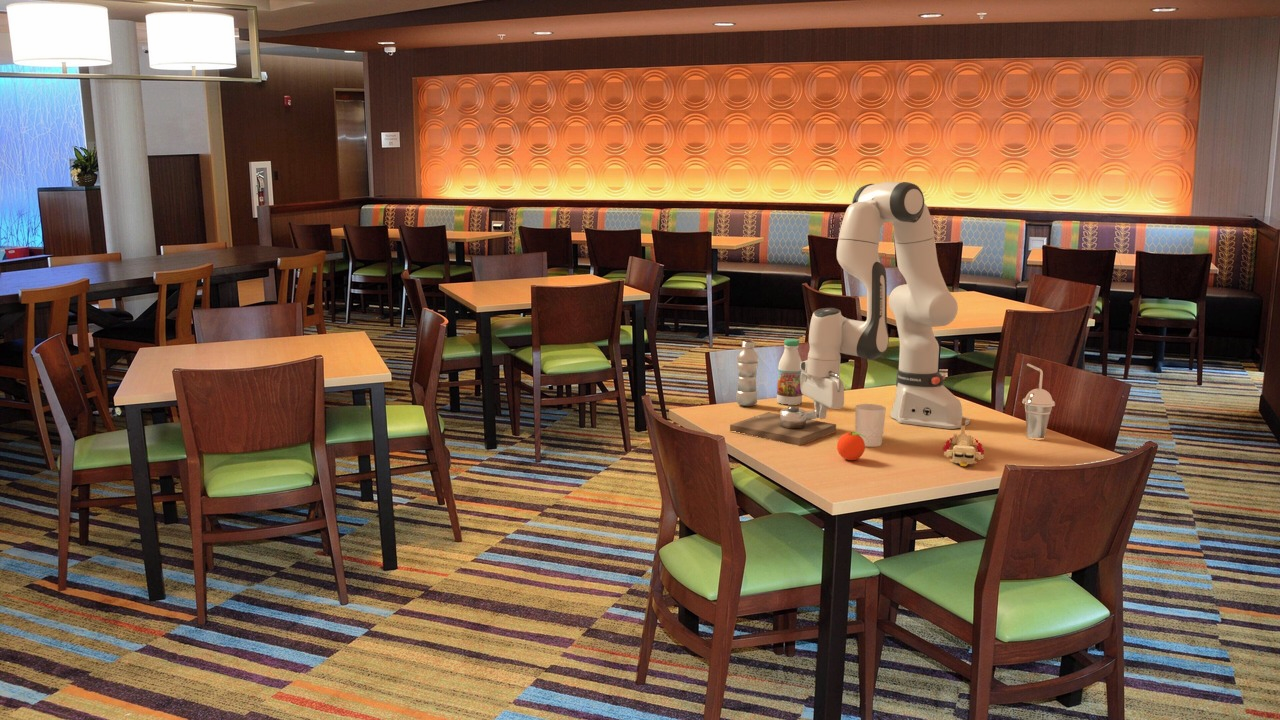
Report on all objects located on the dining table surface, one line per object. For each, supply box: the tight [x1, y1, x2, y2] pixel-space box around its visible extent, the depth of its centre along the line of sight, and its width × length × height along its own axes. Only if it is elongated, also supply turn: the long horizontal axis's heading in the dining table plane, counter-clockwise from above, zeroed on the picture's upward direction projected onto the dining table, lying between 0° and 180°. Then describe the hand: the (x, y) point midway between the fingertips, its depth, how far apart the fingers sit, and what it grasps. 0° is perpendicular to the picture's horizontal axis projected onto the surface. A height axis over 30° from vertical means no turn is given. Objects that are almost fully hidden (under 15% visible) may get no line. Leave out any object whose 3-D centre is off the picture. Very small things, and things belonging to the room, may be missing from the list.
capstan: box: [779, 405, 819, 428], centre depth 292 cm, size 16×7×5 cm, turn 131°
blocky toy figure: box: [942, 418, 985, 467], centre depth 269 cm, size 10×9×25 cm
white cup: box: [854, 403, 887, 448], centre depth 279 cm, size 8×8×10 cm
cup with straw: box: [1021, 363, 1056, 439], centre depth 286 cm, size 8×9×20 cm
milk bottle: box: [776, 338, 803, 406], centre depth 325 cm, size 8×8×20 cm
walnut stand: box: [729, 411, 837, 446], centre depth 291 cm, size 22×20×2 cm
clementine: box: [836, 432, 869, 461], centre depth 264 cm, size 8×7×7 cm
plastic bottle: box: [735, 340, 759, 407], centre depth 320 cm, size 6×7×20 cm
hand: (820, 417), depth 288 cm, fingers closed
